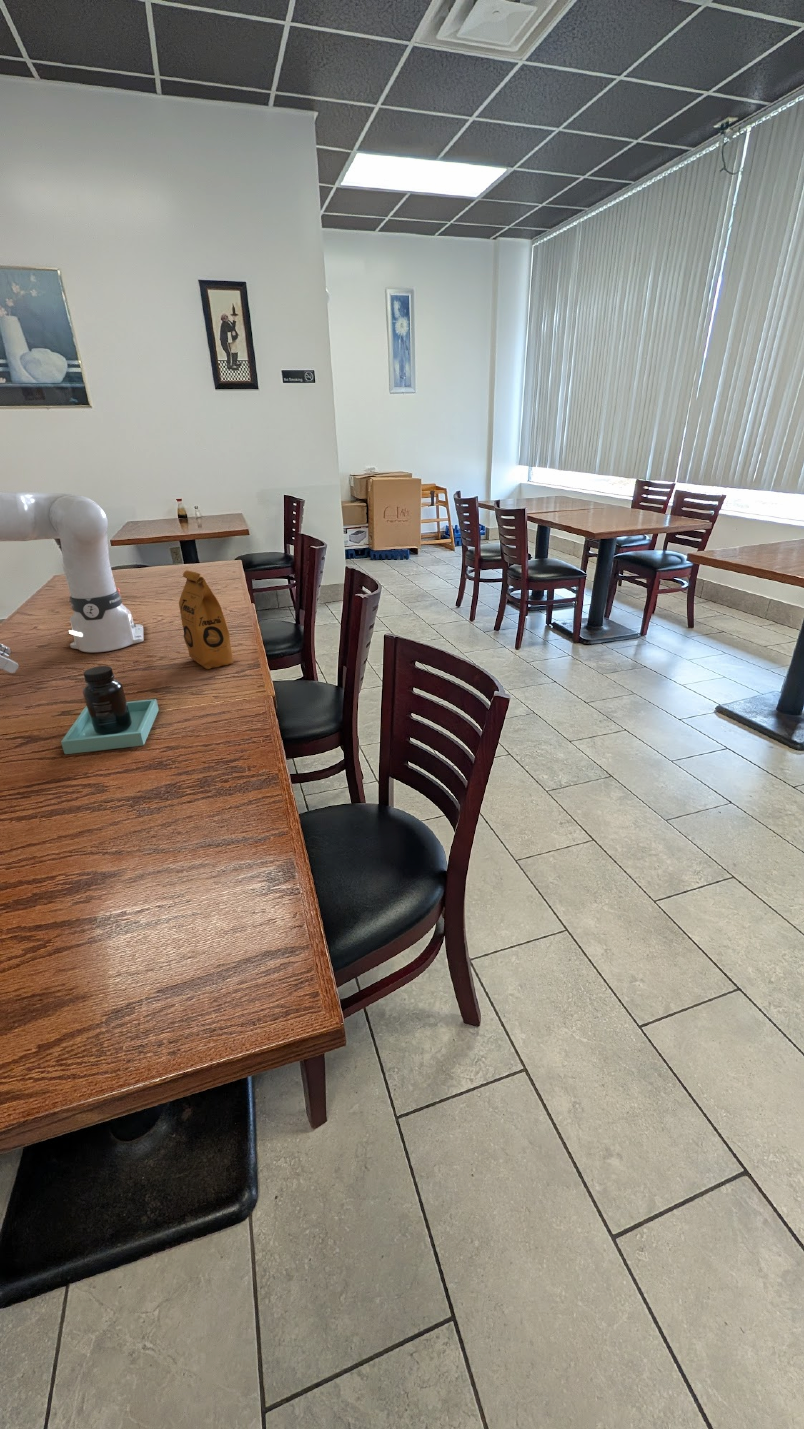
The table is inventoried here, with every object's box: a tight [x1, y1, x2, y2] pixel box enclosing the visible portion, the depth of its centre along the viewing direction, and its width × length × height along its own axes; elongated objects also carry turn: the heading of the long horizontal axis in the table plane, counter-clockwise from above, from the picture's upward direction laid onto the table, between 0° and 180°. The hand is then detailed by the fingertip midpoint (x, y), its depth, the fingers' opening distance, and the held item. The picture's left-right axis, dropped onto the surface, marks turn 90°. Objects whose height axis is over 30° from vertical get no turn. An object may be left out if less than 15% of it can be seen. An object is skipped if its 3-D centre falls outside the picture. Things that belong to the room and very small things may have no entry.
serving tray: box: [60, 698, 160, 755], centre depth 113 cm, size 16×14×3 cm
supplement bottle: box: [82, 665, 132, 735], centre depth 111 cm, size 7×7×12 cm
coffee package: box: [178, 569, 234, 670], centre depth 142 cm, size 10×12×22 cm
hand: (12, 661), depth 99 cm, fingers open, 8 cm apart
